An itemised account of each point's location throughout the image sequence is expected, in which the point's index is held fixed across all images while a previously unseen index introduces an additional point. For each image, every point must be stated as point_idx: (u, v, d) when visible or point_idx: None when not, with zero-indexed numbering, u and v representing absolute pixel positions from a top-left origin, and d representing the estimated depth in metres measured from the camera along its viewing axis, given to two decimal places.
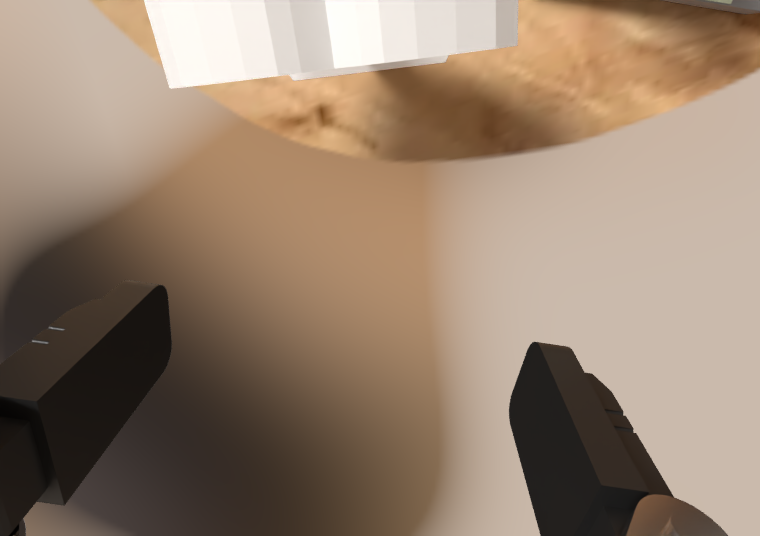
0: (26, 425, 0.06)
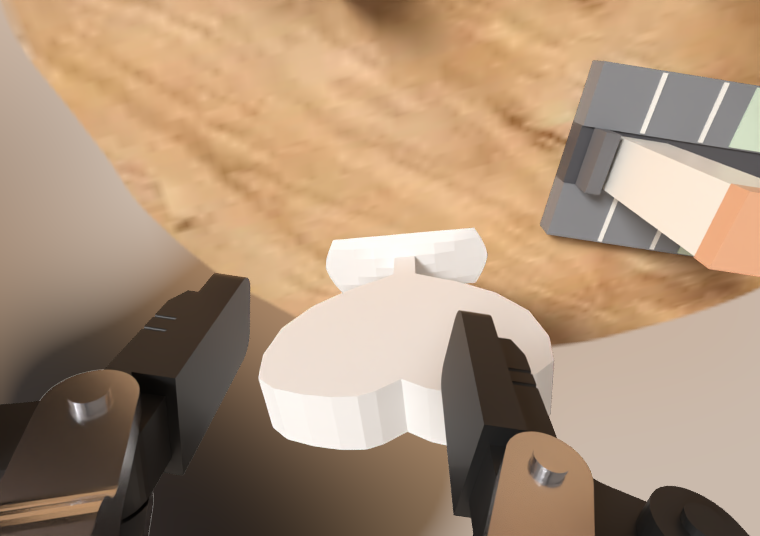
0: (163, 400, 0.07)
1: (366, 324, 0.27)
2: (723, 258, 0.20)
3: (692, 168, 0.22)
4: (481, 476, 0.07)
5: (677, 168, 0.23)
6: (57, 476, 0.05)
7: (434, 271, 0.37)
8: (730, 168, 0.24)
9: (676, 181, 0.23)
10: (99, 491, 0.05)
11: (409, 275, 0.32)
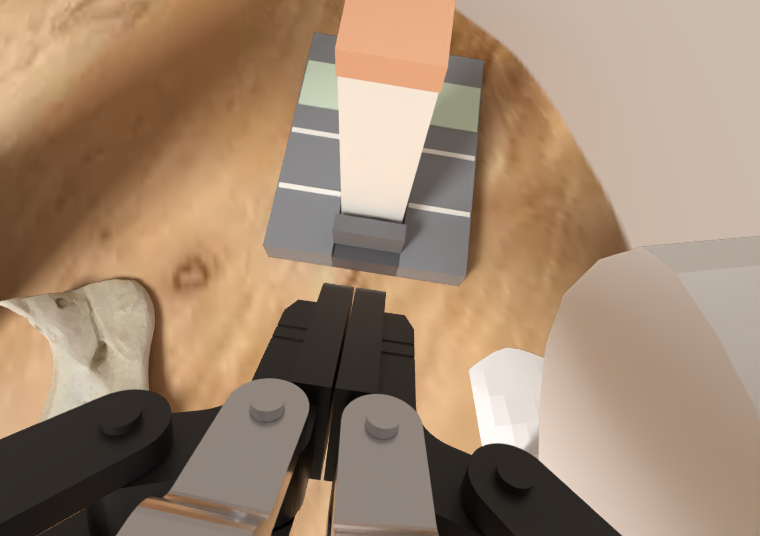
0: (316, 408, 0.07)
1: None
2: (430, 55, 0.14)
3: (339, 127, 0.18)
4: (339, 439, 0.08)
5: (347, 145, 0.19)
6: (227, 478, 0.05)
7: (539, 423, 0.25)
8: None
9: (360, 142, 0.19)
10: (256, 508, 0.05)
11: None
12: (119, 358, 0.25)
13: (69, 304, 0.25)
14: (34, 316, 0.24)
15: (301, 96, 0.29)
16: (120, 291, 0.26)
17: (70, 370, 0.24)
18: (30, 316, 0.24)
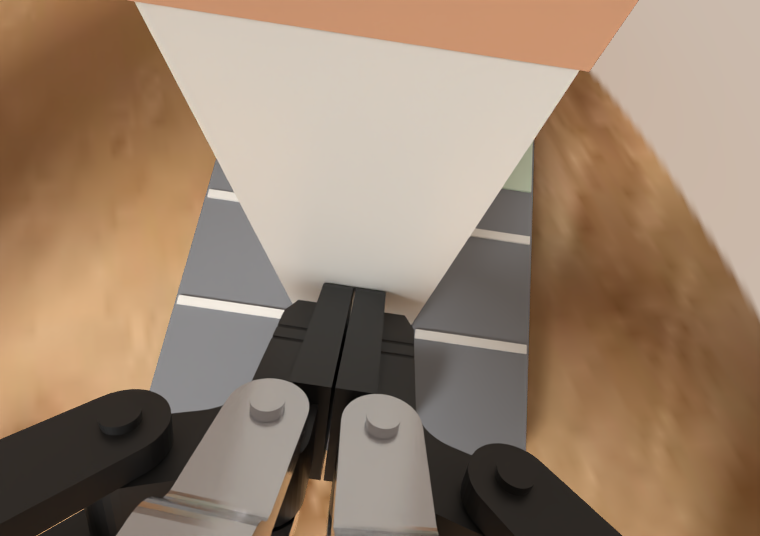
0: (317, 408, 0.07)
1: None
2: None
3: (234, 185, 0.06)
4: (338, 439, 0.08)
5: (269, 222, 0.07)
6: (227, 479, 0.05)
7: None
8: None
9: (299, 217, 0.07)
10: (256, 509, 0.05)
11: None
12: None
13: None
14: None
15: None
16: None
17: None
18: None
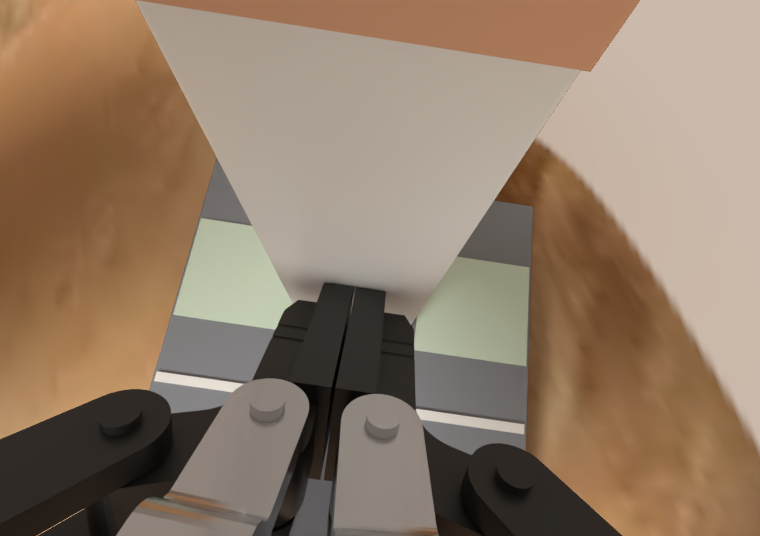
0: (316, 408, 0.07)
1: None
2: None
3: (234, 184, 0.06)
4: (339, 439, 0.08)
5: (269, 222, 0.07)
6: (227, 479, 0.05)
7: None
8: None
9: (300, 217, 0.07)
10: (256, 509, 0.05)
11: None
12: None
13: None
14: None
15: (180, 299, 0.15)
16: None
17: None
18: None
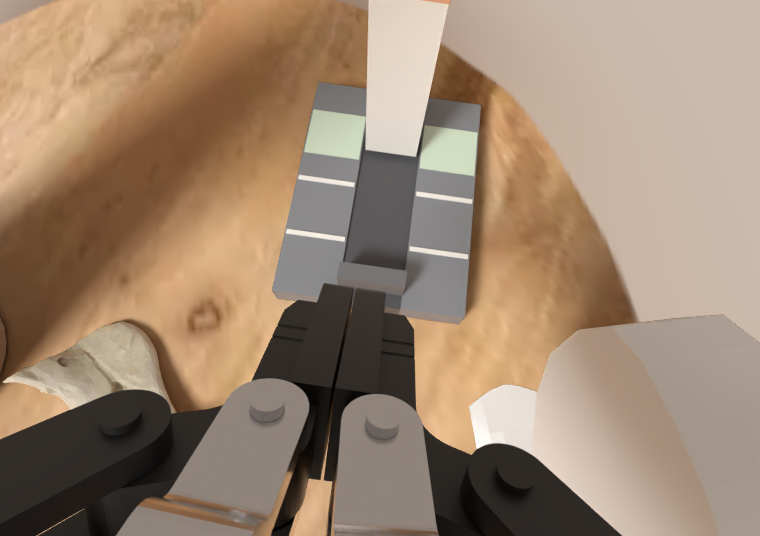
0: (316, 408, 0.07)
1: None
2: None
3: (368, 46, 0.22)
4: (338, 439, 0.08)
5: (373, 64, 0.23)
6: (227, 479, 0.05)
7: None
8: None
9: (384, 60, 0.23)
10: (256, 509, 0.05)
11: None
12: None
13: (70, 360, 0.26)
14: (43, 381, 0.25)
15: (306, 145, 0.31)
16: (113, 334, 0.28)
17: None
18: (40, 381, 0.25)
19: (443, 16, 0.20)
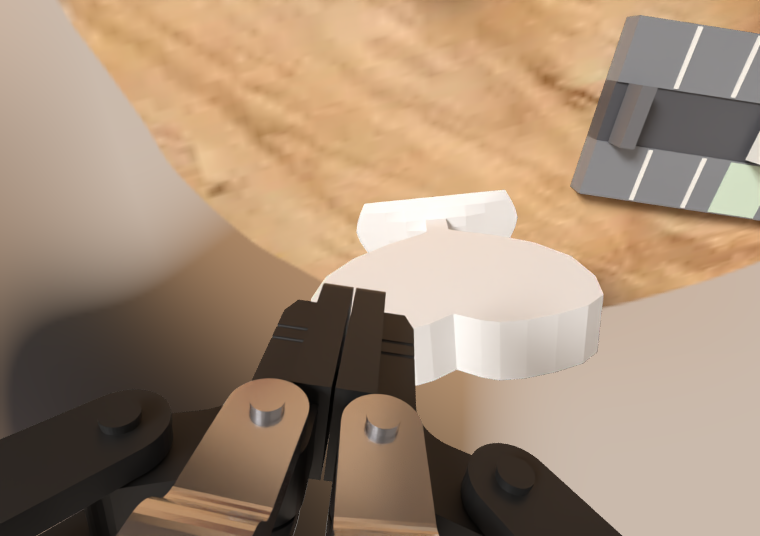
0: (316, 408, 0.07)
1: (409, 271, 0.27)
2: None
3: None
4: (338, 440, 0.08)
5: None
6: (226, 479, 0.05)
7: None
8: None
9: None
10: (256, 508, 0.05)
11: (445, 231, 0.32)
12: None
13: None
14: None
15: None
16: None
17: None
18: None
19: None
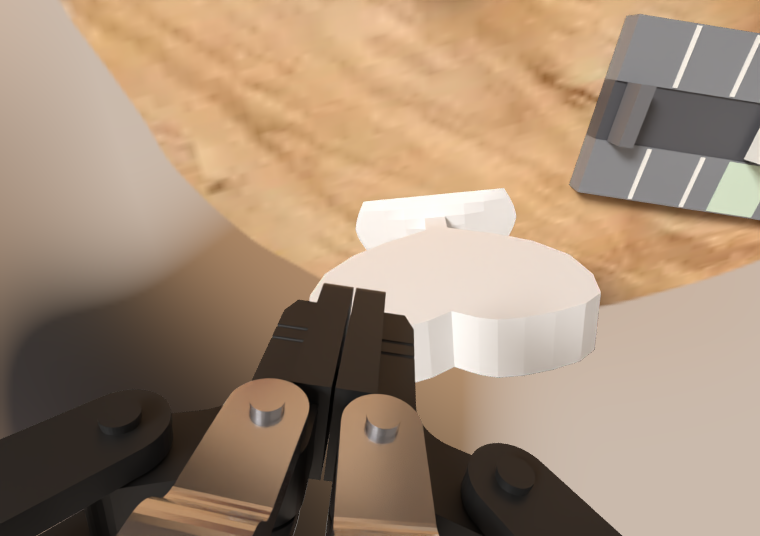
0: (316, 408, 0.07)
1: (408, 269, 0.27)
2: None
3: None
4: (339, 439, 0.08)
5: None
6: (227, 478, 0.05)
7: None
8: None
9: None
10: (256, 508, 0.05)
11: (444, 229, 0.32)
12: None
13: None
14: None
15: None
16: None
17: None
18: None
19: None
